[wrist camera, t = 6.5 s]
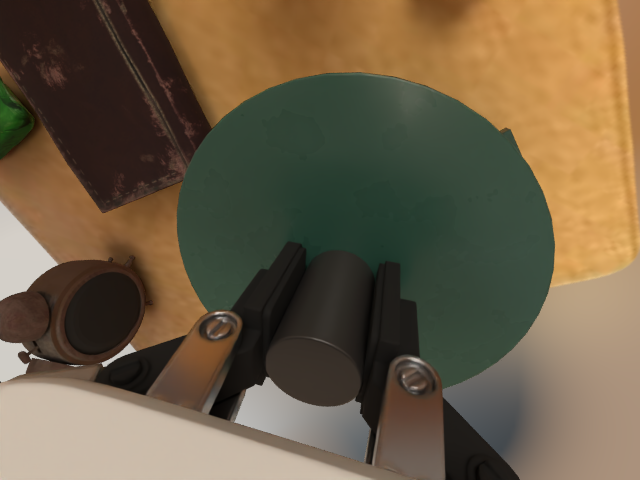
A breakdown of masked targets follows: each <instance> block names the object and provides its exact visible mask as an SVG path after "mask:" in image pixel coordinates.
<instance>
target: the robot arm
mask: <svg viewBox="0 0 640 480" xmlns="http://www.w3.org/2000/svg"><path fill="white" fill-rule="evenodd" d="M305 263H306V248H302V244H300V243H295V242H290V241H288V242H287V243H286V244H285V246H284V247H283V249H282V250H281V252H280V253H279V255H278V256H277V258H276V259H275V261H274V262H273V264H272V265H271V266H270V268H269V269H268V270H267V269H263V268H262V269H260V270H259V271H258V273H257V274H256V275H255V277H254V278H253V280H252V281H251V282H250V284H249V285H248V286H247V288H246V289H245V291H244V292H243V293H242V295H241V296H240V297H239V299H238V300H237V302H236V303H235V304H234V306H233V307H232V308H231V310H215V311H212V312H209V313H207V314H205V315H203V316H202V317H200V319H199V320H198V321H197V322H196V323H195V324H194V326H193V327H192V329H191V330H190V332H189V333H188V335H185V336H182V337H179V338H176V339H173V340H170V341H167V342H164V343H161V344H158V345H155V346H152V347H149V348H146V349H143V350H140V351H137V352H134V353H131V354H128V355H125V356H122V357H120V358H118V359H116V360H115V361H113V362H112V363H110V364H109V365H108V366H107V367H103V365H102V364H101V363H100V364H93V365H85V366H78V367H70V368H63V369H55V370H48V371H40V372H33V373H27V374H24V375H19V376H17V377H15V378H13V379H11V380H8V381H6V382H2V383H0V480H520V479H519V477H518V476H517V475H516V474H515V472H514V471H513V470H512V469H511V467H510V466H509V465H508V464H507V463H506V462H505V461H504V460H503V459H502V458H501V457H500V456H499V454H498V453H497V452H496V451H495V450H494V449H493V448H492V447H491V446H490V445H489V444H488V443H487V442H486V441H485V440H484V439H483V438H482V437H481V436H480V435H479V434H478V433H477V432H476V431H475V430H474V429H473V428H472V427H471V426H470V425H469V424H468V422H467V421H466V420H465V419H464V418H463V417H462V416H461V415H460V414H459V413H458V412H457V411H456V410H455V409H454V408H453V407H452V406H451V405H450V404H449V403H448V402H447V401H446V400H445V399H444V398H443V396H442V382H441V378H440V376H439V374H438V372H437V371H436V369H435V368H434V367H433V366H432V365H431V364H430V363H428V362H427V361H425V360H424V359H422V358H420V350H419V335H418V320H417V305H416V302H415V301H410V300H406V299H401V298H400V263H396V262H391V261H385V264H382V263H379V267H378V272H377V276H376V281H375V285H374V292H373V300H372V308H371V316H370V324H369V331H368V339H367V347H366V355H365V363H364V377H363V385H362V388H361V390H360V392H359V394H358V395H357V396H356V399H355V401H356V402H360V403H361V410H360V414H362V417H363V418H364V420H365V421H366V422H367V424H368V425H369V427H370V431H369V437H368V442H367V448H366V453H365V459H364V463H362V462H359V461H356V460H353V459H350V458H347V457H344V456H340V455H337V454H334V453H331V452H328V451H325V450H321V449H318V448H315V447H312V446H309V445H305V444H302V443H299V442H295V441H292V440H289V439H286V438H282V437H279V436H276V435H273V434H270V433H267V432H263V431H260V430H257V429H253V428H250V427H247V426H244V425H241V424H237V423H234V421H235V419H236V416H237V414H238V411H239V409H240V406H241V403H242V401H243V398H244V396H245V392H246V389H248V388H250V387H252V386H254V385H255V384H257V385H261V386H262V385H263V382H264V380H265V378H266V377H269V375H268V373H267V371H266V368H265V354H266V351H267V349H268V347H269V345H270V343H271V341H272V339H273V337H274V335H275V333H276V331H277V328H278V326H279V324H280V322H281V320H282V318H283V316H284V314H285V312H286V310H287V308H288V306H289V304H290V302H291V300H292V298H293V296H294V294H295V292H296V289H297V287H298V285H299V283H300V281H301V279H302V277H303V275H304V273H305Z"/></svg>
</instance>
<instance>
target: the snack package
mask: <svg viewBox="0 0 640 480" xmlns="http://www.w3.org/2000/svg"><path fill="white" fill-rule="evenodd" d="M34 122H35V119H34V117H33V116H32V115H31V114H30V112H29V111H28V110H27V109H26V108H25V107H24V106H23V105H22V103H21V102H20V101H19V100H18V98H17V97H16V96H15V95H14V94H13V92H12V91H11V90H10V89H9V88H8V87H7V86H6V85H5V84H4V83H3V81H2V79H1V78H0V159H2V158H3V157H4V156H5V155H6V154H7V153H8V152H9V151H10V150H11V149H12V148H13V147H15V146H16V145H17V144H19V143H20V142H21V141H22V140H23V139H24V138H25V137H26V135H27V134H28V133H29V132H30V131H31V130H32V128H33V126H34Z"/></svg>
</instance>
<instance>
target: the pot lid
mask: <svg viewBox="0 0 640 480" xmlns="http://www.w3.org/2000/svg"><path fill="white" fill-rule="evenodd" d="M177 234H178V241H179V247H180V253H181V256H182V260H183V263H184V267H185V270H186V272H187V275H188V277H189V279H190V282H191V284H192V286H193V288H194V290H195V292H196V294H197V295H198V297H199V299H200V301H201V302H202V304H203V305H204V307H205V308H206V310H207V311H208V313H209V312H212V311H215V310H231V308H232V307H233V306H234V304H235V303H236V302H237V300H238V299H239V297H240V296H241V295H242V293H243V292H244V291H245V289H246V288H247V286H248V285H249V284H250V282H251V281H252V280H253V278H254V277H255V275H256V274H257V273H258V271H259V270H260V269H262V268H263V269H267V270H268V269H269V268H270V266H271V265H272V264H273V262H274V261H275V259H276V258H277V256H278V255H279V253H280V252H281V250H282V249H283V247H284V246H285V244H286V243H287V242H288V241H290V242H295V243H300V244H302V248H306V263H305V273H304V275H303V277H302V279H301V281H300V283H299V285H298V287H297V289H296V292H295V294H294V296H293V298H292V300H291V302H290V304H289V306H288V308H287V310H286V312H285V314H284V316H283V318H282V320H281V322H280V324H279V326H278V328H277V331H276V333H275V335H274V337H273V339H272V341H271V343H270V345H269V347H268V349H267V351H266V354H265V368H266V371H267V373H268V375H269V377H270V378H271V380H272V381H273V382H274V383H275V384H276V385H277V386H278V387H279V388H280V389H281V390H282V391H284V392H285V393H286V394H288V395H290V396H291V397H293V398H295V399H297V400H299V401H302V402H305V403H308V404H312V405H316V406H327V407H328V406H338V405H343V404H345V403H348V402H350V401H351V400H353V399H354V398H355V397H356V396H357V395H358V394H359V392H360V390H361V388H362V385H363V377H364V363H365V355H366V347H367V339H368V331H369V324H370V316H371V308H372V300H373V292H374V285H375V281H376V276H377V272H378V267H379V263H382V264H385V261H391V262H396V263H400V298H401V299H406V300H410V301H415V302H416V305H417V320H418V335H419V350H420V358H422V359H424V360H425V361H427V362H428V363H430V364H431V365H432V366H433V367H434V368H435V369H436V371H437V372H438V374H439V376H440V378H441V382H442V389H444V388H447V387H450V386H453V385H456V384H458V383H461V382H463V381H465V380H467V379H469V378H472V377H474V376H476V375H478V374H479V373H481V372H483V371H484V370H486V369H487V368H489V367H490V366H492V365H494V364H495V363H497V362H498V361H499V360H500V359H501V358H503V357H504V356H505V355H506V354H507V353H508V352H509V351H511V350H512V349H513V348H514V347H515V346H516V344H517V343H518V342H519V341H520V340H521V339H522V338H523V337H524V336H525V334H526V333H527V332H528V330H529V329H530V327H531V326H532V324H533V322H534V321H535V319H536V318H537V316H538V314H539V313H540V310H541V308H542V306H543V304H544V301H545V299H546V297H547V294H548V291H549V287H550V283H551V278H552V274H553V270H554V252H555V241H554V233H553V225H552V218H551V215H550V212H549V209H548V206H547V202H546V199H545V196H544V193H543V191H542V189H541V187H540V185H539V183H538V181H537V179H536V178H535V176H534V174H533V172H532V170H531V168H530V166H529V165H528V163H527V162H526V161H525V160H524V158H523V157H522V156H521V154H520V153H519V152H518V151H517V149H516V148H515V147H514V145H513V144H512V143H511V142H510V141H509V140H508V139H507V138H506V137H505V136H504V135H503V134H502V133H501V132H500V131H499V130H498V129H496V128H495V127H494V126H493V125H492V124H491V123H490V122H489V121H488V120H487V119H485V118H484V117H482V116H481V115H479V114H478V113H476V112H475V111H473V110H472V109H470V108H469V107H467V106H466V105H464V104H463V103H461V102H460V101H458V100H456V99H454V98H452V97H450V96H447V95H445V94H443V93H441V92H439V91H436V90H434V89H432V88H430V87H428V86H425V85H422V84H418V83H415V82H411V81H408V80H404V79H401V78H397V77H393V76H385V75H378V74H370V73H362V72H355V73H326V74H320V75H314V76H309V77H303V78H298V79H294V80H291V81H288V82H286V83H283V84H280V85H277V86H274V87H271V88H268V89H266V90H265V91H263V92H261V93H259V94H257V95H255V96H253V97H251V98H250V99H248V100H246V101H244V102H243V103H241V104H240V105H239V106H238V107H236V108H235V109H234V110H232V111H231V112H230V113H228V114H227V115H226V116H224V117H223V118H222V119H221V120H220V122H219V123H218V124H217V125H216V126H215V127H214V128H213V129H212V130H211V131H210V132H209V133H208V134H207V136H206V137H205V139H204V140H203V142H202V143H201V144H200V146H199V147H198V149H197V150H196V152H195V153H194V155H193V158H192V160H191V162H190V164H189V166H188V168H187V171H186V173H185V176H184V179H183V183H182V186H181V190H180V193H179V201H178V209H177Z"/></svg>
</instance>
